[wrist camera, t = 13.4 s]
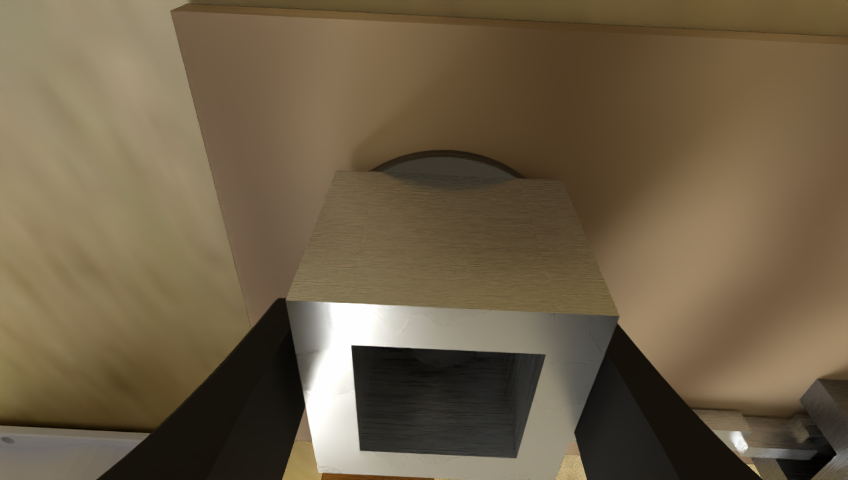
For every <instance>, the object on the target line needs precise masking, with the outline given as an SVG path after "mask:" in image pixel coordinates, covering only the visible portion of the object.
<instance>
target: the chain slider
mask: <svg viewBox="0 0 848 480" xmlns="http://www.w3.org/2000/svg"><path fill="white" fill-rule="evenodd" d="M692 410H693V411H694V412H695V413H696V414H697V415H698V417H699V418H700V419H701V420H702V421H703V422H704V423H705V424H706V425H707V426H708V427H709V428H710V429H711V430H712V431H713V432H714V433H715V434H716V435H717V436H718V437H719V438H720V439H721V440H722V441H723V442H724V443H725V444H726V445H727V446H728V447H729V448H730V449H731V450H734V451H738V452H739V454H740V456H741V457H759V458H778V459H797V460H810V459H811V458H812V457H813V456H814V455H831V456H836V455H837V453H836V452H835V450H834V449H833V447H832V446H831V445H830V443H829V442H828V440H827V439H826V438H825V436H824V435H823V433H822V432H821V430H820V429H819V428H818V426H817V425H816V423H815V422H814V421H813V419H812V418H811V416H810V415H798V414H795V416H794V417H793V418H792V419H777V418H758V417H743V416H742V414H741V412H739V411H720V410H701V409H692ZM570 442H576V438H575V434H574V433H573V436H572V438H571V441H570ZM321 480H434V478H423V477H402V476H382V475H361V474H340V473H323V474H322V478H321Z"/></svg>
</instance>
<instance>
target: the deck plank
mask: <svg viewBox="0 0 848 480" xmlns="http://www.w3.org/2000/svg"><path fill="white" fill-rule="evenodd" d="M171 15H172V19H173V23H174V27H175V31H176V35H177V39H178V43H179V46H180V50H181V54H182V58H183V62H184V66H185V70H186V74H187V78H188V82H189V86H190V90H191V94H192V98H193V102H194V105H195V109H196V113H197V117H198V121H199V125H200V129H201V133H202V137H203V141H204V145H205V149H206V153H207V157H208V160H209V164H210V168H211V172H212V176H213V180H214V184H215V188H216V192H217V196H218V200H219V204H220V208H221V212H222V215H223V219H224V223H225V227H226V231H227V235H228V239H229V243H230V247H231V251H232V255H233V259H234V263H235V267H236V271H237V274H238V278H239V282H240V286H241V290H242V294H243V298H244V302H245V306H246V310H247V314H248V318H249V322H250V326H251V329H252V328H253V327H254V325H255V324H256V323H257V322H258V321H259V319H260V318H261V317H262V316H263V315H264V313H265V312H266V311H267V310H268V309H269V307H270V306H271V305H272V304H273V302H274V301H275V300H277V299H278V298H287V296H288V293H289V291H290V288H291V285H292V283H293V280H294V278H295V275H296V272H297V270H298V267H299V265H300V262H301V260H302V257H303V254H304V252H305V249H306V247H307V244H308V241H309V239H310V236H311V234H312V231H313V229H314V226H315V223H316V221H317V218H318V216H319V213H320V210H321V208H322V205H323V203H324V200H325V198H326V195H327V192H328V190H329V187H330V185H331V182H332V180H333V177H334V174H335V172H336V170H347V171H368V172H369V171H370V170H372V169H373V168H375V167H377V166H379V165H381V164H382V163H384V162H387V161H389V160H392V159H394V158H397V157H399V156H403V155H407V154H411V153H415V152H421V151H429V150H456V151H465V152H470V153H474V154H479V155H483V156H486V157H488V158H491V159H494V160H496V161H499V162H501V163H503V164H505V165H507V166H509V167H510V168H512V169H514V170H515V171H517V172H518V173H519V174H521V175H522V176H524V177H525V178H526V179H543V180H562V181H563V184H564V186H565V189H566V191H567V193H568V196H569V198H570V200H571V203H572V205H573V207H574V210H575V212H576V214H577V217H578V219H579V221H580V224H581V226H582V228H583V231H584V233H585V235H586V238H587V240H588V242H589V245H590V247H591V250H592V252H593V254H594V257H595V259H596V261H597V264H598V266H599V268H600V271H601V273H602V275H603V278H604V280H605V282H606V285H607V287H608V289H609V292H610V294H611V296H612V299H613V301H614V303H615V306H616V308H617V311H618V313H619V315H620V317H619V320H618V322H617V323H618V324H619V325H620V327H621V328H622V329H623V330H624V331H625V333H626V334H627V335H628V336H629V337H630V339H631V340H632V341H633V342H634V343H635V345H636V346H637V347H638V348H639V349H640V351H641V352H642V353H643V354H644V355H645V357H646V358H647V359H648V360H649V361H650V362H651V364H652V365H653V366H654V367H655V368H656V370H657V371H658V372H659V373H660V374H661V375H662V377H663V378H664V379H665V380H666V381H667V382H668V383H669V384H670V386H671V387H672V388H673V389H674V390H675V391H676V392H677V393H678V395H679V396H680V397H681V398H682V399H683V400H684V401H685V402H686V404H687V405H688V406H689V407H690V408H691V409H701V410H720V411H739V412H741V414H742V416H743V417H758V418H777V419H792V418H793V417H794V416H795V414H798V415H809V414H808V412H807V411H806V409H805V408H804V407H803V405H802V404H801V402H800V401H799V399H800V398H801V397H802V396H803V395H804V393H805V392H806V391H807V390H808V389H809V387H810V386H811V385H812V384H813V383H814V382H815V380H816V379H836V380H848V37H839V36H819V35H799V34H779V33H759V32H739V31H719V30H700V29H680V28H660V27H640V26H620V25H600V24H580V23H560V22H541V21H521V20H501V19H481V18H461V17H441V16H421V15H402V14H382V13H362V12H342V11H322V10H302V9H282V8H262V7H243V6H223V5H203V4H185V5H183V6H181V7H178V8H176V9H173V10H171ZM295 441H312V437H311V431H310V426H309V421H308V416H307V410H306V406H305V409H304V412H303V416H302V419H301V422H300V425H299V428H298V431H297V435H296V438H295ZM732 451H733V452H734V453H735V454H736V455H737V456H738V457H739V458H740V459H741V460H742V461H743V462H744V463H745V464H754V463H753V461H752V459H751V457H741V456H740V454H739V452H738V451H734V450H732ZM565 455H580V453H579V449H578V445H577V442H570V443H569V446H568V449H567V451H566V454H565Z"/></svg>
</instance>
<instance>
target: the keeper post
mask: <svg viewBox="0 0 848 480" xmlns="http://www.w3.org/2000/svg"><path fill="white" fill-rule="evenodd" d="M369 172H389V173H411V174H432V175H454V176H475V177H497V178H521V179H526V178H525V177H524V176H522V175H521V174H519V173H518V172H517V171H515V170H514V169H512V168H510V167H509V166H507V165H505V164H503V163H501V162H499V161H496V160H494V159H491V158H488V157H486V156H483V155H479V154H474V153H470V152H465V151H456V150H429V151H421V152H415V153H411V154H407V155H403V156H399V157H397V158H394V159H392V160H389V161H387V162H384V163H382V164H381V165H379V166H377V167H375V168H373V169H372V170H370V171H369ZM405 350H406V351H407V352H408V354H409V355H410V356H412V357H413V358H414V359H416V360H418V361H420V362H422V363H425V364H428V365H433V366H451V365H456V364H459V363H462V362H464V361H466V360H468V359H470V358H471V357H472V356H474V355H475V354H476V352H477V351H466V350H445V349H423V348H405Z"/></svg>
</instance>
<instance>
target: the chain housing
mask: <svg viewBox="0 0 848 480" xmlns="http://www.w3.org/2000/svg"><path fill="white" fill-rule="evenodd" d="M799 401H800V402H801V404H802V405H803V407H804V408H805V409H806V411H807V412H808V414H809V415H810V416H811V418H812V419H813V421H814V422H815V423H816V425H817V426H818V428H819V429H820V430H821V432H822V433H823V435H824V436H825V438H826V439H827V440H828V442H829V443H830V445H831V446H832V447H833V449H834V450H835V452H836V453H837V455H836V456H831V455H814V456H813V457H812V458H811V459H810V460H797V459H778V458H759V457H751V459H752V461H753V463H754V465H755V466H756V468H757V470H758V472H759V474H760V476H761V477H762V479H763V480H848V380H836V379H816V380H815V382H814V383H813V384H812V385H811V386H810V387H809V389H808V390H807V391H806V392H805V393H804V395H803V396H802V397H801V398H800V399H799Z"/></svg>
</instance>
